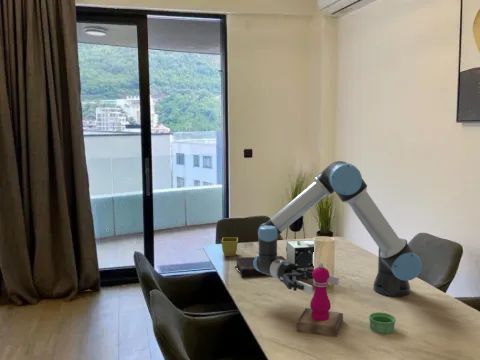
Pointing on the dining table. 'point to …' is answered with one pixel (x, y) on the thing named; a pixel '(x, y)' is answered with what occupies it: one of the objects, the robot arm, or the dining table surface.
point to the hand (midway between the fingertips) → (325, 285)
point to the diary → (250, 266)
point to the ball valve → (299, 254)
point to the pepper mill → (320, 294)
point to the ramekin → (382, 322)
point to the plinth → (320, 323)
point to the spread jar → (311, 249)
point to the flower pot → (229, 246)
